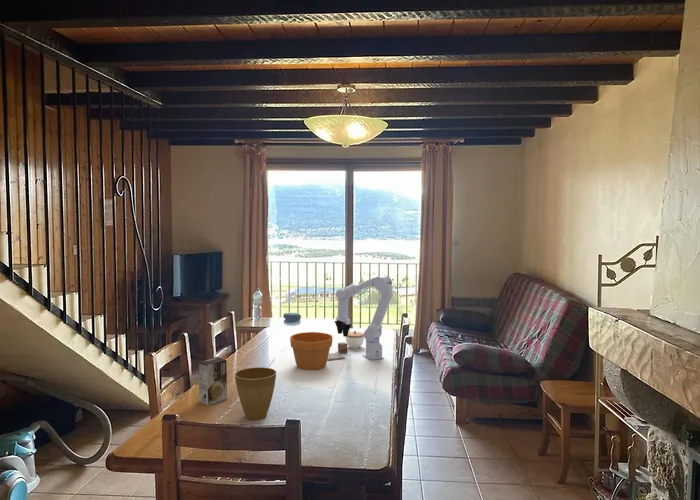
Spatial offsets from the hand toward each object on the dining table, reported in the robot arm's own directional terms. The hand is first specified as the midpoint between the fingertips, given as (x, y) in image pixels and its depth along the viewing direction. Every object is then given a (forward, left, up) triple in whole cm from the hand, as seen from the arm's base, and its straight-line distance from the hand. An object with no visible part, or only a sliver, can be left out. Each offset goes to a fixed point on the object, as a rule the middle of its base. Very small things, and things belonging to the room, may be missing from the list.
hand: (342, 334), depth 270 cm
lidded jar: (+8, -11, -10) cm, 17 cm away
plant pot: (-72, +65, -10) cm, 97 cm away
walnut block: (0, 0, -10) cm, 10 cm away
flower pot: (-19, +25, -10) cm, 33 cm away
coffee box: (-50, +77, -10) cm, 92 cm away
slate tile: (-8, +9, -10) cm, 15 cm away
